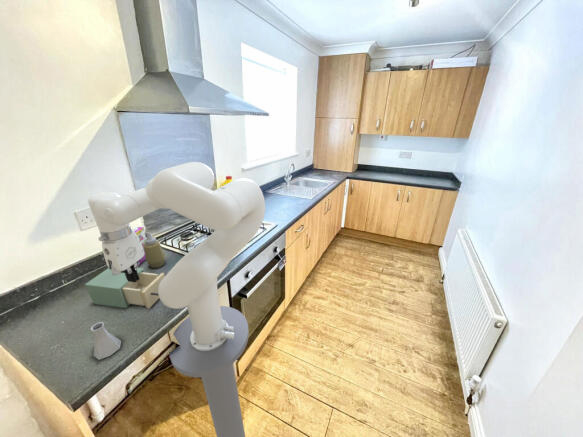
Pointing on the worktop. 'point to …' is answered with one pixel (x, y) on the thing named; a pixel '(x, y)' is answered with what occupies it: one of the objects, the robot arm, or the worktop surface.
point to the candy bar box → (142, 238)
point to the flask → (104, 341)
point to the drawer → (143, 289)
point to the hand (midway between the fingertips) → (133, 280)
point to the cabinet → (109, 288)
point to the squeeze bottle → (153, 252)
